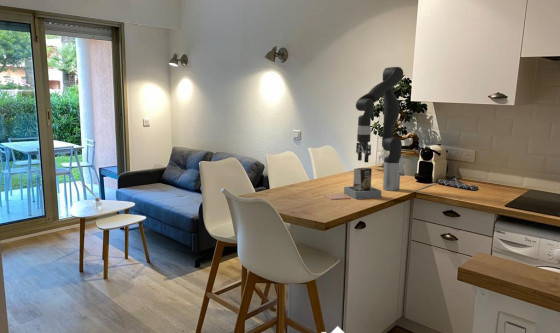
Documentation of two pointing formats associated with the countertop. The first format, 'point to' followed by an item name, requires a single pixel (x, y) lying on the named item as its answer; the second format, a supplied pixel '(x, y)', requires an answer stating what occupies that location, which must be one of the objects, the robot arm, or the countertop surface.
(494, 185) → the countertop surface
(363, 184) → the coffee box
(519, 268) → the countertop surface
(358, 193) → the grey square tray
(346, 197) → the coaster
